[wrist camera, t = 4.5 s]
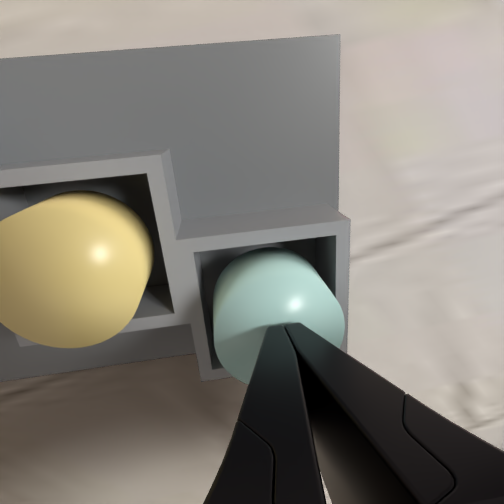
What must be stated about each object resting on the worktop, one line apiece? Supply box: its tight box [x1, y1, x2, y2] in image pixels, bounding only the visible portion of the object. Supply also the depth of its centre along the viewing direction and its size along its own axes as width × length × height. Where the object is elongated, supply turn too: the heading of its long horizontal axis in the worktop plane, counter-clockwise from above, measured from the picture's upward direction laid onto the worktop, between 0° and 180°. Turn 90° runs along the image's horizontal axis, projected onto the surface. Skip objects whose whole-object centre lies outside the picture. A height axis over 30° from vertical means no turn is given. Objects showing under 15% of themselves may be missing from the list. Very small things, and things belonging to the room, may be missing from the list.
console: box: [0, 34, 350, 382], centre depth 10 cm, size 15×10×2 cm, turn 95°
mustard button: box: [0, 190, 154, 348], centre depth 8 cm, size 3×3×2 cm
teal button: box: [213, 247, 345, 385], centre depth 9 cm, size 3×3×2 cm
